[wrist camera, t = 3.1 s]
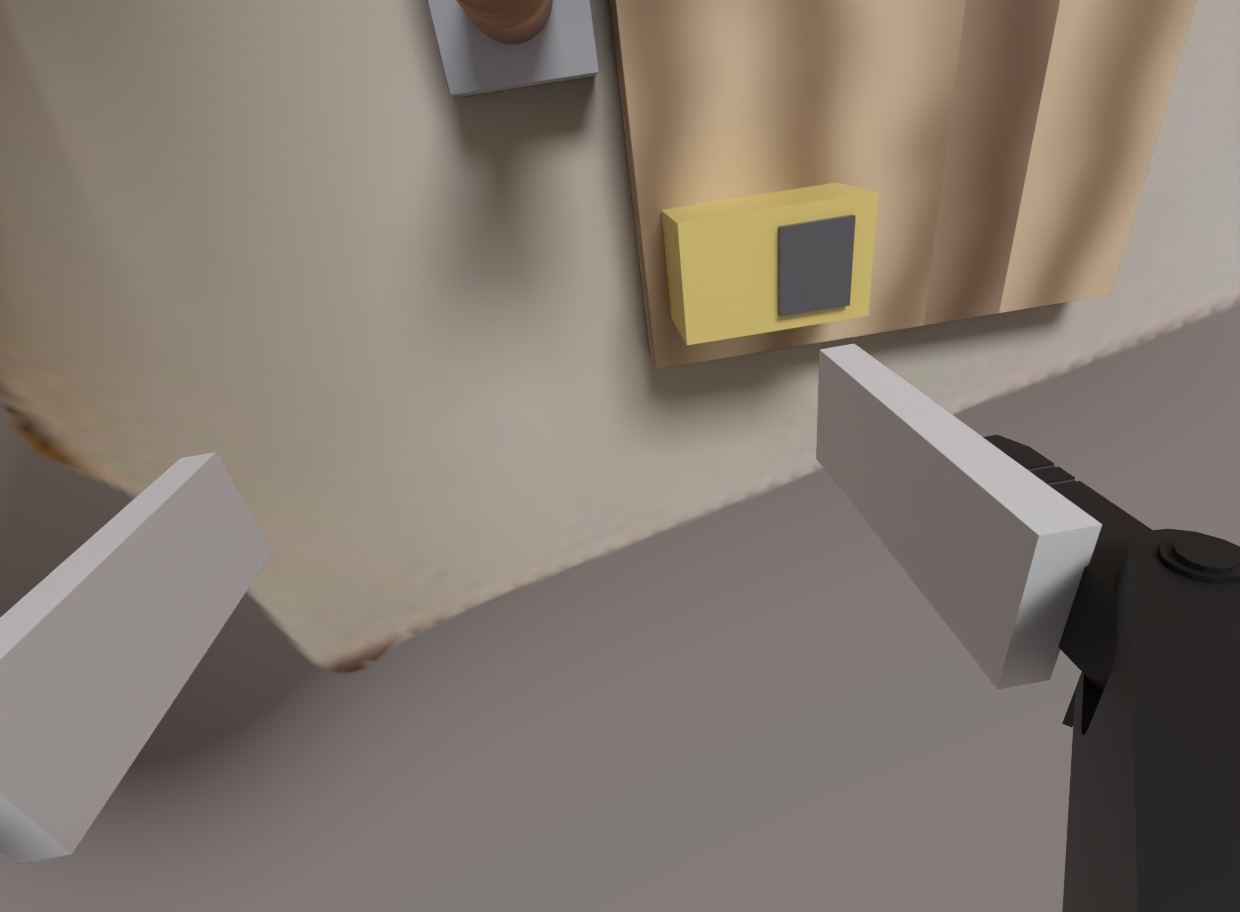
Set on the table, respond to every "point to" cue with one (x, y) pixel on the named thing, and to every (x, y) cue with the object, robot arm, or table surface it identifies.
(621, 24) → the subfloor panel
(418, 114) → the table surface
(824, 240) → the block
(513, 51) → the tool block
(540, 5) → the brown rounded cylinder
